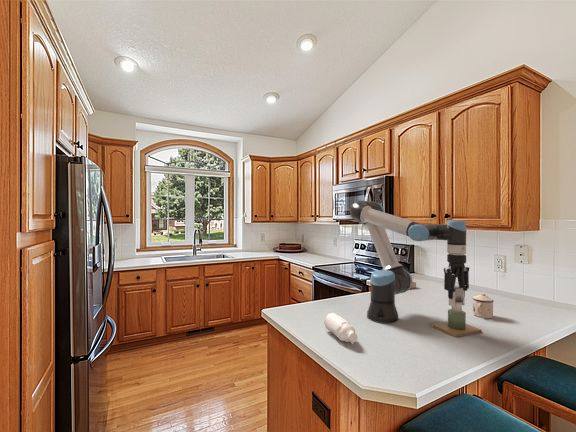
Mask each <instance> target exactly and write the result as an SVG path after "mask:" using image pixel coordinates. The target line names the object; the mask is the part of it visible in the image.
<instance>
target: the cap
mask: <svg viewBox="0 0 576 432" xmlns="http://www.w3.org/2000/svg"><path fill="white" fill-rule="evenodd" d="M454 292H455V302H463V288H462V287H459V285H458V286H457V285H455V287H454Z"/></svg>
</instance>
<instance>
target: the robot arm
mask: <svg viewBox="0 0 576 432" xmlns="http://www.w3.org/2000/svg"><path fill="white" fill-rule="evenodd" d="M349 215H350V217H351V218H352V219H353V220H354V221H357V222H360V223H362V224H363V226H364V228H367V229H368V232H369V235H370V237H371V240H372V243H373V245H374V248H375V250H376V253H377V256H378V258H379V260H380V262H381V266H382V269H379V270H374V271H372V273H371V274H370V280H369V282H370V303H369V305H368V309H367V311H366V318H367V319H369V320H370V319H371V320H370V321H372V320H373V322H376V323H382V324H394V323H397V322H398V321H399V312H398V309H397V307H396V304H395V300H396V299H395V297H396V295H399V294H403V293H406V292H407V291H409V290H411V289H412V288H411V286H412V281H413V277H412V274H410V272H408V271H407V270H405V268H404V265H403V264H401V263H400V262H399V261H398V258H397V256H396V253H395V250H394V248H393V246H392V243H391V241H390V238H389V236H388V233H387V232H386V230H388V231H392V232H394V233H397V234H401V235H403V236H405V237H409V238H410V239H411V240H412V241H413V242H414V241H415V242H425V241H447V244H446V245H447V246H446V252H447V256H446V257H447V258H446V259H447V263H448V266H447V267H443V272H444V275H443V276H444V283H443V284H444V285H443V286H444V287H443V288H444V290H445V291H447V296H448V297H447V298H448V305H449V306H451V307H452V306H454V307H455V292H454V287H455V286H456V281H457V284H458V287H462V288H463V302H462V306H465V301H466V299H465V298H466V292H467V291H468V290H469V288H470V285H469V283H470V280H469V277H470V275H469V274H470V273H469V272H470V267H468V266H465V264H466V263H467V255H466V254H467V223H466V221H465V220H453V219H451V220H450V219H449V220H447V222H446V223H445V224H440V223H438V224H437V223H435V224H434V223H433V224H432V223H420V222H416V221H412V220H410V219H407V218H403V217H400V216H398V215H394V214H390V213H387V212H385V209H384V207H383V205H382V204H381V203H379V202H377V201H374V200H369V201H368V200H355V201H354V202H353V203H352V204H351V205H350V207H349ZM410 288H411V289H410Z"/></svg>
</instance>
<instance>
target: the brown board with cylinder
mask: <svg viewBox="0 0 576 432" xmlns="http://www.w3.org/2000/svg"><path fill="white" fill-rule="evenodd" d="M466 316H467V315H466V312H465V311H464V310H463V305H462V302H455V307H454V306H451V309H450V308H449V309H448V310H447V322H441V323H435V324H434V323H433V324H432V328H434V329H436V330H438V331H439V332H440V331H441V332H443V333H445V334H447V335H450V336H453V337H454V338H458V337H464V336H470V335H474V334H475V335H476V334H480V333H483V329H481V328H480V327H476V326H473V325H471V324H468V323H467V322H466Z"/></svg>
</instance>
